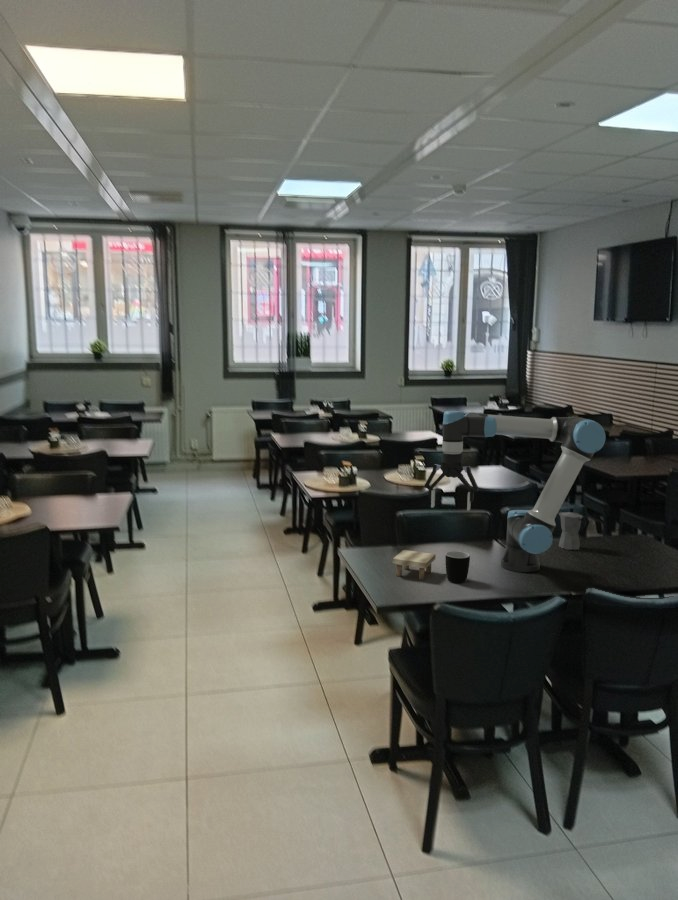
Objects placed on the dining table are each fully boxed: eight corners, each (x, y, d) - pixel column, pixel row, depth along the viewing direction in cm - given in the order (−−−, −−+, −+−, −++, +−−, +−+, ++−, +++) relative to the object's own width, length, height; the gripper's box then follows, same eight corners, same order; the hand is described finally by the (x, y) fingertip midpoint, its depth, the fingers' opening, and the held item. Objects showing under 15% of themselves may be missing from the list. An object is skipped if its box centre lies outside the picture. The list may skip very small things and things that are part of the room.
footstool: (434, 571, 275) (435, 554, 274) (425, 581, 263) (425, 563, 262) (403, 567, 280) (403, 549, 279) (392, 576, 268) (392, 558, 267)
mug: (472, 584, 261) (473, 557, 259) (449, 585, 259) (450, 558, 258) (461, 573, 273) (462, 548, 271) (438, 574, 271) (439, 549, 269)
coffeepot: (550, 546, 313) (552, 506, 311) (562, 543, 319) (565, 504, 316) (580, 554, 301) (583, 513, 298) (593, 551, 307) (595, 510, 304)
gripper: (487, 453, 261) (485, 509, 264) (422, 449, 270) (420, 503, 273) (484, 455, 254) (482, 513, 257) (417, 451, 263) (415, 507, 266)
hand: (450, 508), depth 265 cm, fingers open, 13 cm apart
